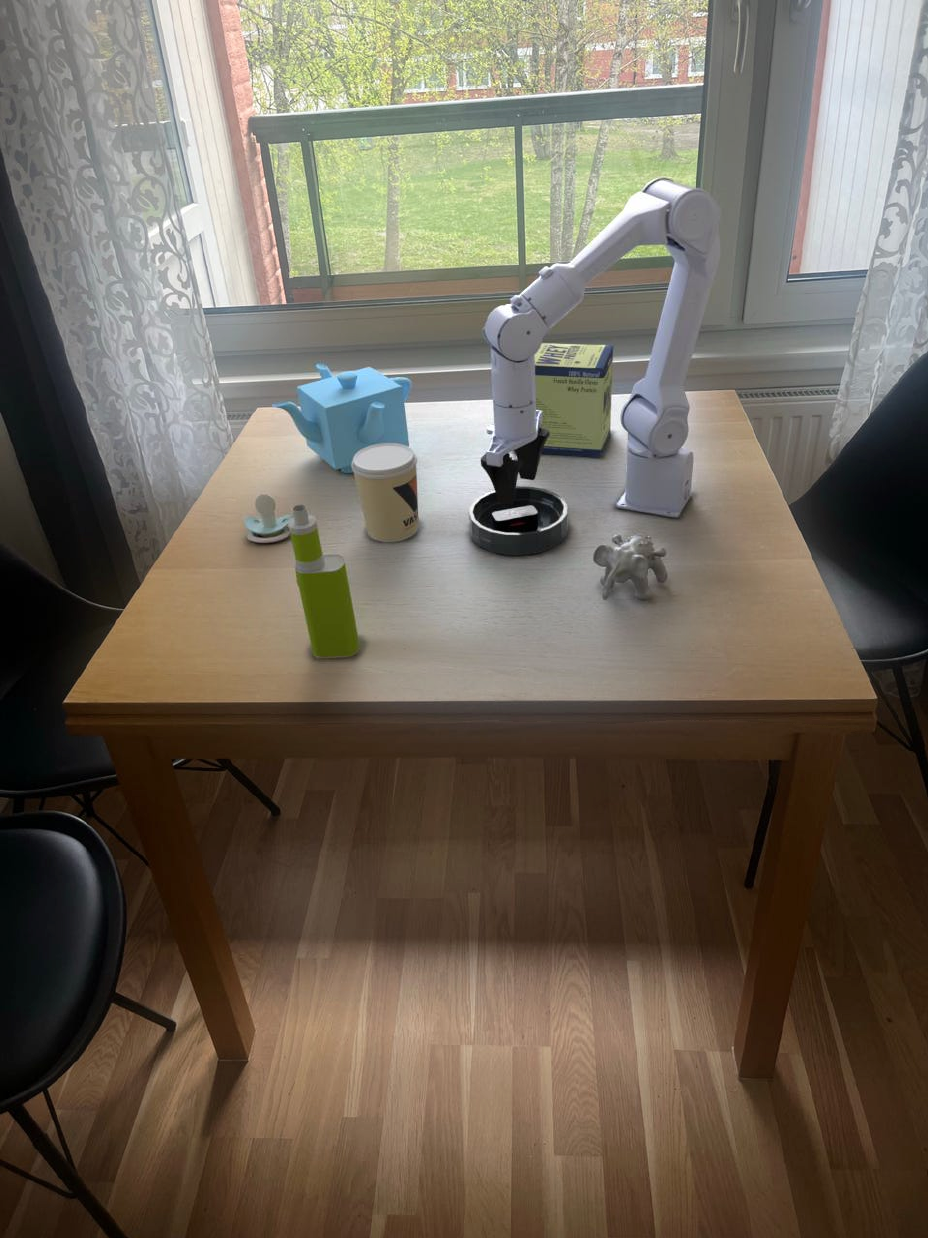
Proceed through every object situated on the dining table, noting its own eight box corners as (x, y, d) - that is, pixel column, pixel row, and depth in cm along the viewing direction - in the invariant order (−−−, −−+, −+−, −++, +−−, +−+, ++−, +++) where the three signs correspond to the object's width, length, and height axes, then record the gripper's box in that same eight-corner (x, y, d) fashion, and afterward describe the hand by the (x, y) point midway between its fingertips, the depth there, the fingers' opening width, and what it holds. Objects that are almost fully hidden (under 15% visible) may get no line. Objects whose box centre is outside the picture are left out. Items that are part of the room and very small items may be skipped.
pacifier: (290, 544, 133) (297, 523, 138) (282, 508, 129) (289, 487, 134) (242, 547, 134) (250, 525, 138) (232, 510, 130) (241, 490, 134)
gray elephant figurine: (668, 572, 120) (672, 523, 116) (661, 625, 111) (665, 574, 106) (599, 567, 122) (600, 518, 118) (586, 618, 113) (587, 567, 109)
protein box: (602, 458, 149) (605, 367, 140) (511, 452, 153) (508, 363, 144) (612, 431, 157) (614, 344, 148) (525, 426, 161) (522, 341, 152)
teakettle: (423, 435, 161) (415, 354, 152) (393, 484, 146) (382, 398, 138) (324, 431, 165) (311, 353, 156) (285, 478, 151) (268, 395, 142)
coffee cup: (415, 546, 130) (407, 472, 123) (354, 543, 132) (342, 470, 125) (430, 514, 137) (422, 442, 130) (371, 512, 139) (361, 441, 132)
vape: (313, 640, 113) (284, 500, 101) (360, 638, 113) (336, 497, 101) (309, 659, 110) (278, 517, 98) (358, 656, 110) (332, 514, 98)
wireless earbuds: (544, 532, 130) (544, 512, 128) (497, 541, 129) (496, 521, 127) (534, 517, 134) (534, 497, 132) (488, 525, 133) (487, 506, 131)
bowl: (581, 516, 134) (581, 494, 132) (545, 564, 124) (545, 542, 122) (495, 500, 139) (494, 480, 137) (454, 546, 129) (452, 524, 127)
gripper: (509, 376, 126) (512, 464, 134) (463, 417, 116) (469, 509, 124) (555, 382, 124) (556, 471, 132) (513, 424, 113) (516, 517, 121)
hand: (517, 490), depth 128 cm, fingers open, 7 cm apart
